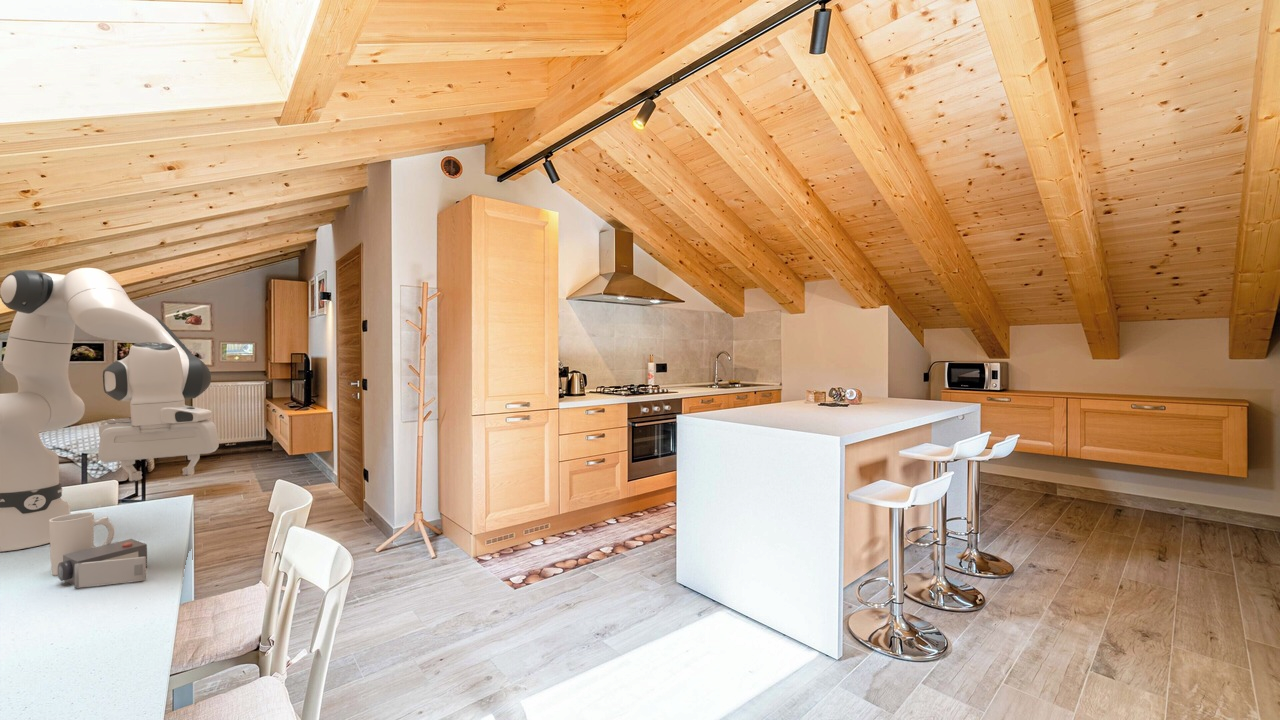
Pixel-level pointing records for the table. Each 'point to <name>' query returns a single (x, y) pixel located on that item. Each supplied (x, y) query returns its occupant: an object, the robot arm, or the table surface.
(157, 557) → the table surface
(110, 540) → the mug
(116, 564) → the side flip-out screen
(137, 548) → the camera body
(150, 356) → the robot arm
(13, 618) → the table surface
